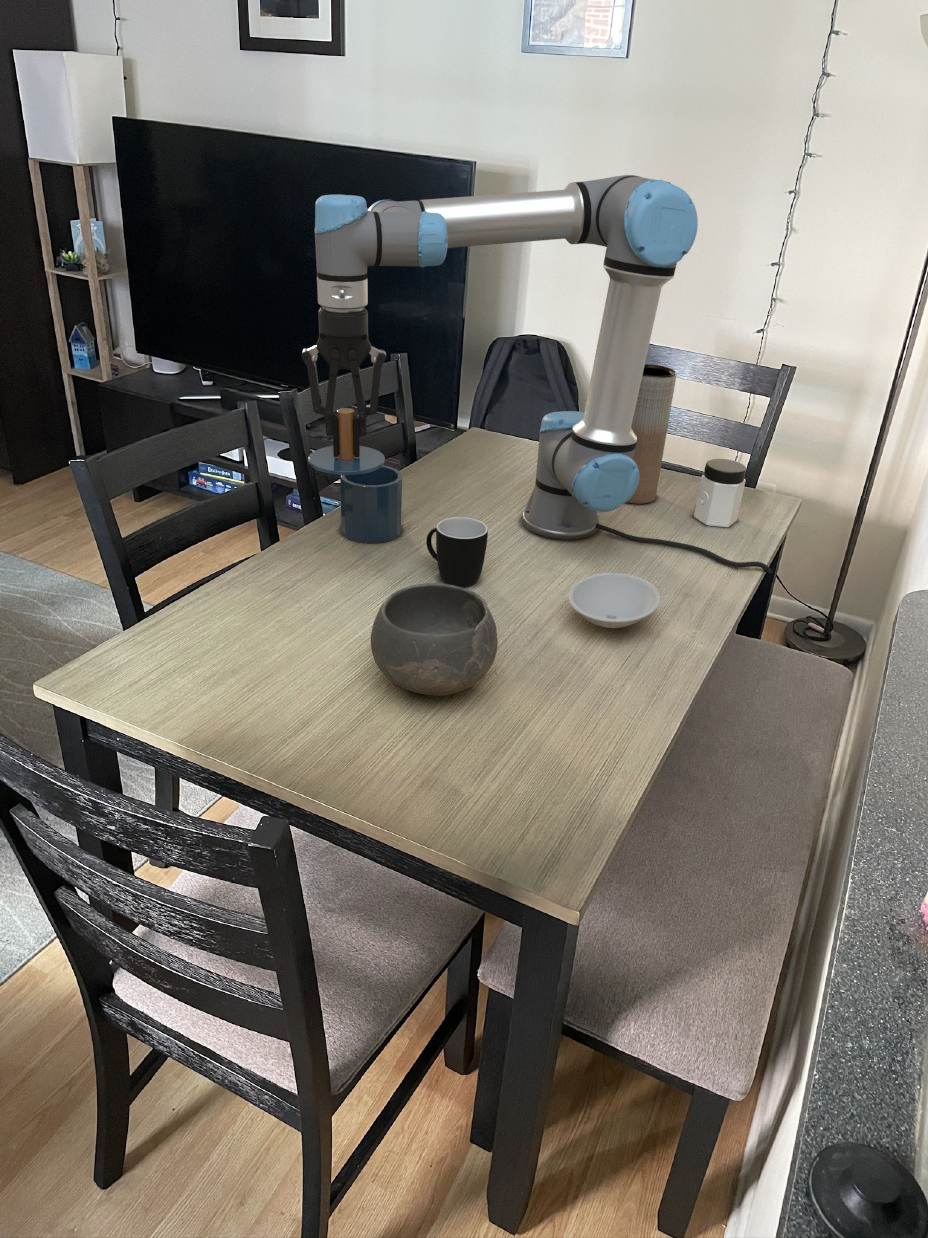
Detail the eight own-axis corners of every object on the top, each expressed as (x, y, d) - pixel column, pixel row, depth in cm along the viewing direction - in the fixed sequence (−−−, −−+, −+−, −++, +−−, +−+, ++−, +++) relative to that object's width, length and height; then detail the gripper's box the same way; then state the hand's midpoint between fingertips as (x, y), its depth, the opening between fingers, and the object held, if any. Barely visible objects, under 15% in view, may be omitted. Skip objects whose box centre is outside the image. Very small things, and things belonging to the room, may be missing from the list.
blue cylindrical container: (413, 531, 176) (414, 476, 170) (370, 548, 168) (370, 491, 162) (372, 513, 182) (372, 459, 176) (329, 529, 174) (327, 474, 168)
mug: (494, 578, 160) (498, 526, 155) (464, 596, 154) (467, 543, 148) (441, 558, 166) (443, 507, 161) (410, 574, 159) (412, 522, 154)
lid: (400, 464, 150) (400, 411, 145) (345, 484, 141) (343, 428, 136) (348, 446, 156) (347, 394, 152) (292, 463, 148) (289, 409, 143)
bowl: (510, 708, 126) (517, 632, 119) (385, 726, 121) (385, 647, 115) (473, 643, 140) (478, 572, 134) (360, 656, 136) (359, 583, 129)
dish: (626, 659, 139) (631, 631, 136) (546, 628, 145) (549, 602, 143) (671, 615, 152) (676, 589, 149) (596, 589, 158) (599, 564, 156)
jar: (686, 513, 190) (696, 459, 184) (717, 508, 193) (728, 456, 187) (711, 530, 183) (723, 475, 177) (743, 525, 186) (756, 471, 180)
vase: (627, 483, 203) (646, 361, 189) (664, 497, 198) (686, 371, 184) (601, 494, 197) (618, 368, 183) (638, 508, 191) (659, 379, 177)
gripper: (288, 310, 132) (296, 461, 144) (395, 313, 134) (395, 462, 145) (292, 300, 138) (299, 445, 150) (394, 303, 140) (394, 446, 152)
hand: (346, 453), depth 148 cm, fingers closed on lid, 3 cm apart
